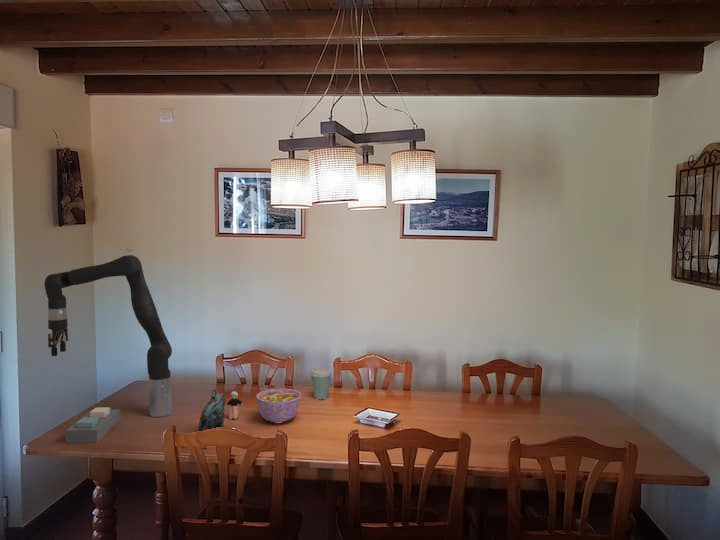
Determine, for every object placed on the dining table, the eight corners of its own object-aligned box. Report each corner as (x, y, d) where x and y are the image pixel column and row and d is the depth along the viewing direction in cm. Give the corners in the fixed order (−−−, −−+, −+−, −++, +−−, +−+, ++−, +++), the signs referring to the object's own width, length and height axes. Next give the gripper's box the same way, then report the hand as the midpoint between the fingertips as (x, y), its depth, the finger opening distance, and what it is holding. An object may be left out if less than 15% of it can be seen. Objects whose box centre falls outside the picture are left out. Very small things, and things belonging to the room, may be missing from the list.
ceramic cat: (214, 429, 223) (214, 384, 222) (229, 430, 223) (229, 384, 221) (195, 448, 203) (195, 398, 202) (211, 449, 203) (211, 399, 201)
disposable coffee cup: (335, 397, 269) (335, 369, 268) (322, 403, 260) (323, 373, 259) (318, 394, 274) (318, 366, 273) (305, 399, 265) (306, 370, 264)
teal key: (98, 424, 216) (98, 417, 216) (92, 429, 210) (92, 422, 210) (83, 424, 215) (83, 417, 215) (76, 429, 209) (76, 422, 209)
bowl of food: (299, 411, 247) (299, 387, 246) (302, 427, 228) (302, 401, 227) (256, 413, 244) (256, 389, 243) (255, 429, 224) (255, 403, 223)
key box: (120, 420, 231) (119, 409, 231) (97, 442, 207) (96, 430, 207) (92, 420, 230) (91, 409, 230) (65, 442, 207) (65, 430, 206)
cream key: (110, 414, 228) (110, 407, 228) (104, 419, 222) (104, 412, 222) (96, 414, 227) (95, 407, 227) (90, 419, 221) (89, 412, 221)
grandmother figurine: (227, 421, 233) (227, 393, 232) (225, 418, 236) (225, 391, 235) (244, 418, 236) (244, 391, 235) (241, 416, 240) (241, 389, 239)
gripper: (59, 320, 226) (60, 357, 227) (73, 315, 240) (74, 350, 241) (41, 321, 225) (42, 357, 226) (55, 315, 239) (57, 350, 240)
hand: (58, 353), depth 234 cm, fingers open, 8 cm apart
